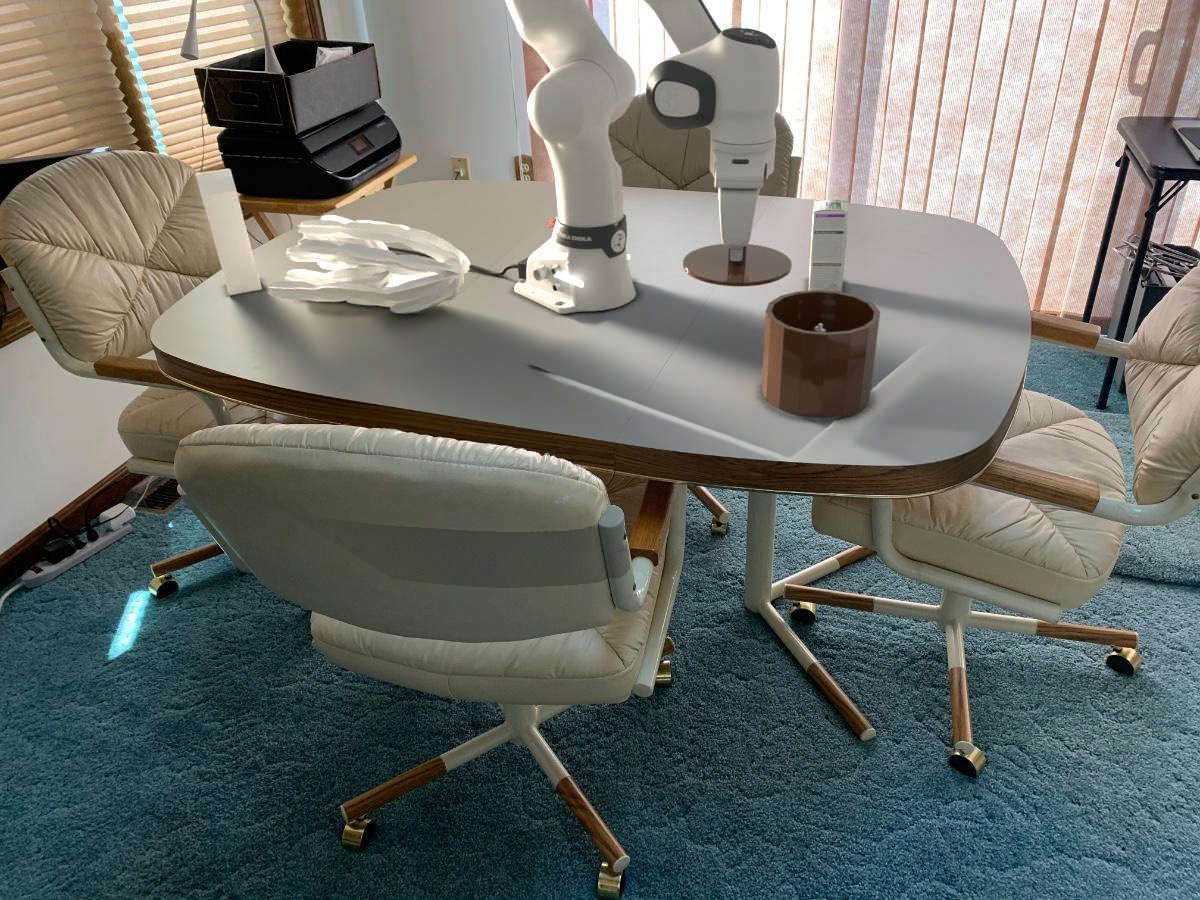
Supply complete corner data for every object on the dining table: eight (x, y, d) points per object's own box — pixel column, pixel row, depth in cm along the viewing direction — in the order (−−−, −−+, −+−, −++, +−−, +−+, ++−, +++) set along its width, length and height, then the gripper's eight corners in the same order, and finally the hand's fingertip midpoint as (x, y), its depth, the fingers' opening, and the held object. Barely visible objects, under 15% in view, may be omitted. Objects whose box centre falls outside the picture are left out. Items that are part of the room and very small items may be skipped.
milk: (262, 290, 172) (232, 172, 160) (228, 296, 170) (195, 177, 158) (258, 279, 177) (229, 164, 165) (226, 285, 175) (194, 169, 163)
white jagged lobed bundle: (490, 235, 163) (322, 221, 173) (445, 207, 146) (261, 193, 156) (477, 329, 163) (310, 310, 173) (430, 313, 146) (247, 292, 156)
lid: (661, 274, 134) (661, 240, 131) (721, 243, 144) (722, 211, 141) (753, 299, 125) (756, 263, 122) (810, 265, 135) (814, 231, 132)
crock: (742, 400, 127) (745, 317, 120) (795, 362, 136) (801, 282, 129) (837, 432, 119) (846, 344, 112) (887, 388, 128) (898, 305, 121)
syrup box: (842, 293, 157) (850, 210, 150) (807, 291, 158) (813, 209, 151) (841, 280, 162) (849, 199, 154) (807, 279, 163) (813, 199, 156)
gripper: (723, 139, 135) (719, 230, 142) (713, 179, 118) (710, 279, 125) (767, 139, 134) (760, 231, 141) (763, 180, 117) (756, 281, 124)
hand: (736, 254), depth 133 cm, fingers closed on lid, 2 cm apart
